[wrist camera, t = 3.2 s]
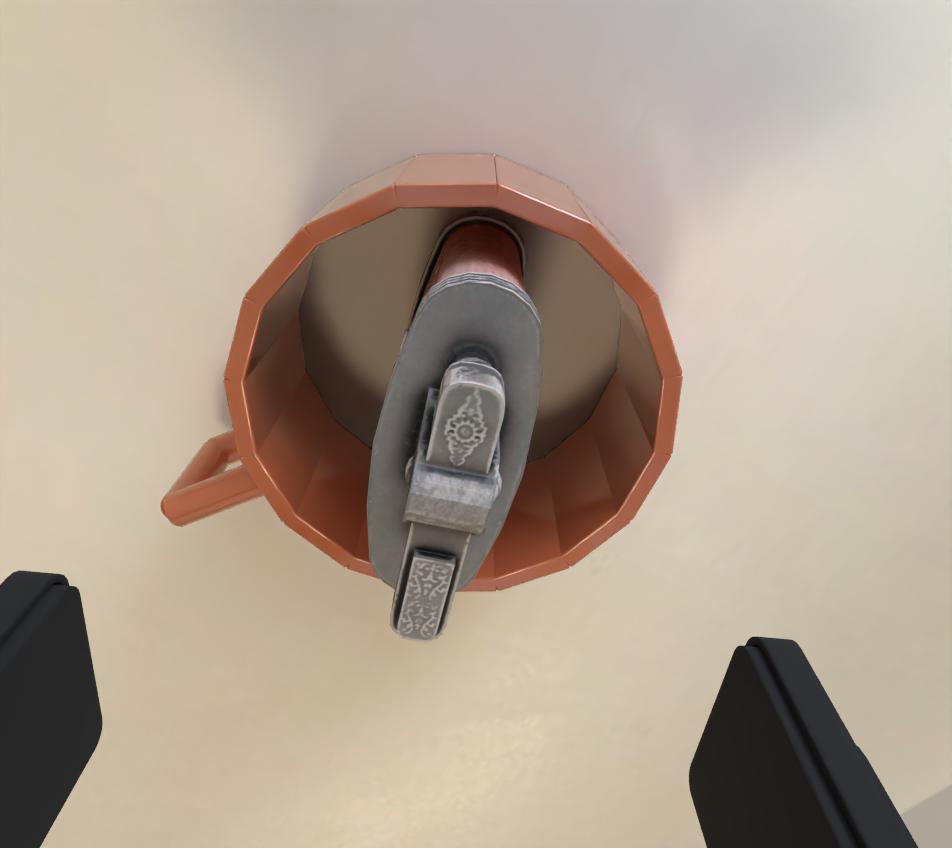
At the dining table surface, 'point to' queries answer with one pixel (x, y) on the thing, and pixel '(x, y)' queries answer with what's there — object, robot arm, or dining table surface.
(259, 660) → the dining table surface
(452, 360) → the lighter
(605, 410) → the mug
